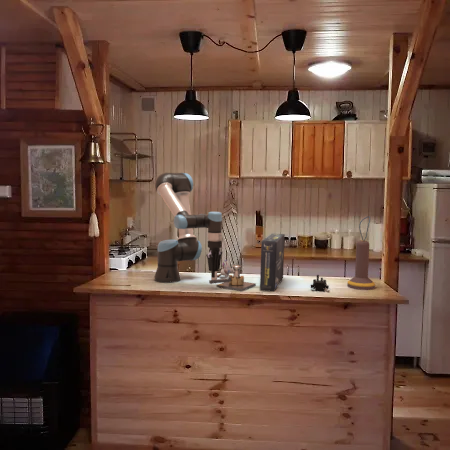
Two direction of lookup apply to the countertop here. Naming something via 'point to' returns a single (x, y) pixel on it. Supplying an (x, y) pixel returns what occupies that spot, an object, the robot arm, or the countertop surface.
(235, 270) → the brass fixture on plate
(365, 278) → the flashlight
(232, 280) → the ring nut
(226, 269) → the figurine
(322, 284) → the toy
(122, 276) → the countertop surface
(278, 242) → the box
